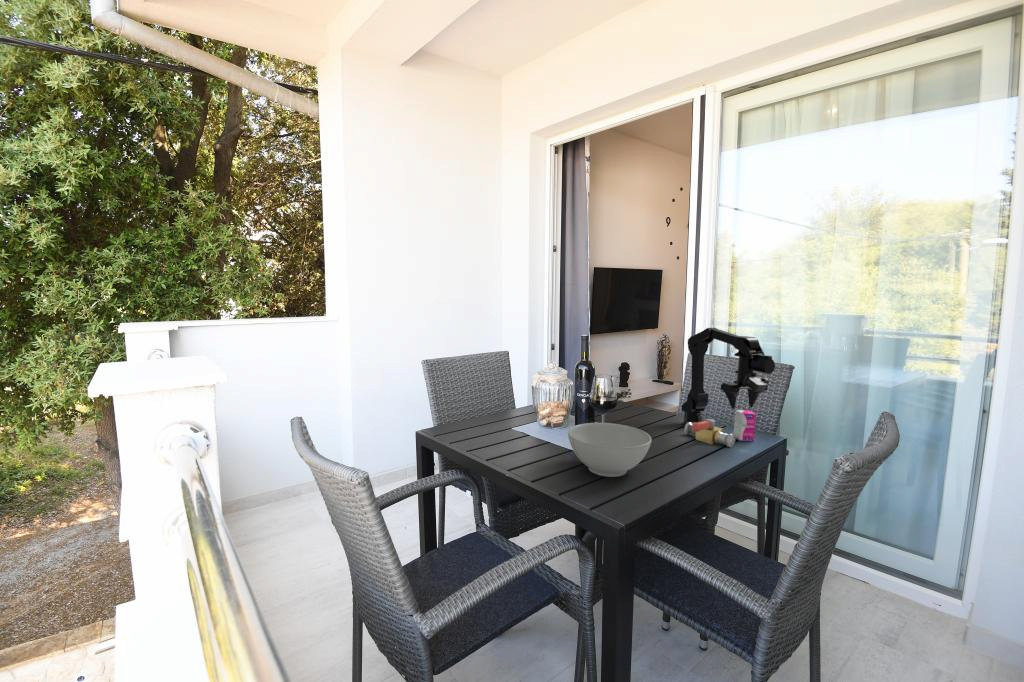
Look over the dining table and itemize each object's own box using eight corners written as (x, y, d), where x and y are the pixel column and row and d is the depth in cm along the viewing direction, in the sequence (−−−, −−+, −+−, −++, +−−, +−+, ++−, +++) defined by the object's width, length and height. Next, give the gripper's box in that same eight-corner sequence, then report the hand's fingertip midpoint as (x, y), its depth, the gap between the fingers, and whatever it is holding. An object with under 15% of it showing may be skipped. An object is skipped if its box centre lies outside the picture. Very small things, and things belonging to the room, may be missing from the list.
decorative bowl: (549, 468, 161) (551, 432, 159) (597, 450, 179) (599, 418, 178) (619, 494, 142) (621, 454, 140) (664, 471, 161) (667, 435, 159)
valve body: (682, 435, 200) (683, 423, 199) (692, 432, 204) (693, 420, 204) (726, 448, 185) (727, 435, 184) (736, 445, 189) (737, 432, 188)
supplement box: (739, 441, 194) (742, 413, 193) (732, 436, 200) (735, 409, 199) (754, 441, 194) (756, 413, 193) (746, 437, 200) (749, 409, 199)
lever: (708, 425, 196) (708, 418, 196) (716, 427, 193) (716, 420, 193) (689, 430, 189) (689, 422, 189) (697, 432, 186) (698, 424, 186)
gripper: (743, 374, 180) (739, 415, 182) (781, 372, 186) (777, 411, 188) (721, 368, 190) (717, 407, 192) (757, 366, 196) (753, 404, 199)
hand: (742, 407), depth 192 cm, fingers open, 9 cm apart
